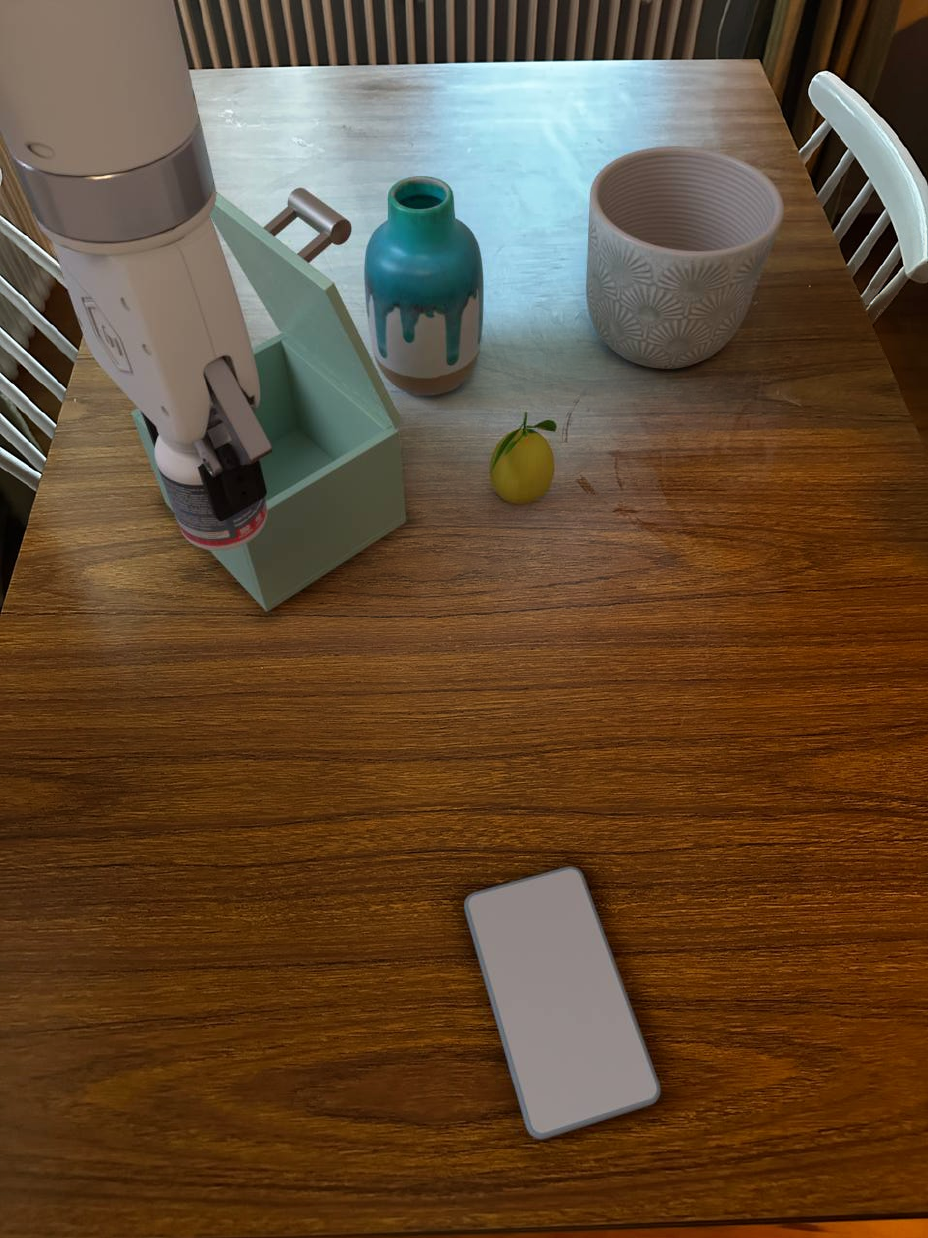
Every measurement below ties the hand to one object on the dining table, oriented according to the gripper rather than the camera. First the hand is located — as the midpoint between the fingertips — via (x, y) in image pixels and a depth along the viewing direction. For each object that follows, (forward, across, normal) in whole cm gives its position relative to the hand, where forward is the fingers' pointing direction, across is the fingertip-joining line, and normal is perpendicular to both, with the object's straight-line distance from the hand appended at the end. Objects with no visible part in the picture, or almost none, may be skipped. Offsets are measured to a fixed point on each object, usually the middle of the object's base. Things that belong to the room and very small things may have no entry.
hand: (211, 473), depth 54 cm
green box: (+23, -14, +10) cm, 29 cm away
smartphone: (+23, +30, +1) cm, 38 cm away
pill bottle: (+4, 0, 0) cm, 4 cm away
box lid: (+5, -14, +15) cm, 21 cm away
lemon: (+23, -2, +27) cm, 36 cm away
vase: (+23, -20, +31) cm, 43 cm away
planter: (+23, -9, +52) cm, 58 cm away
